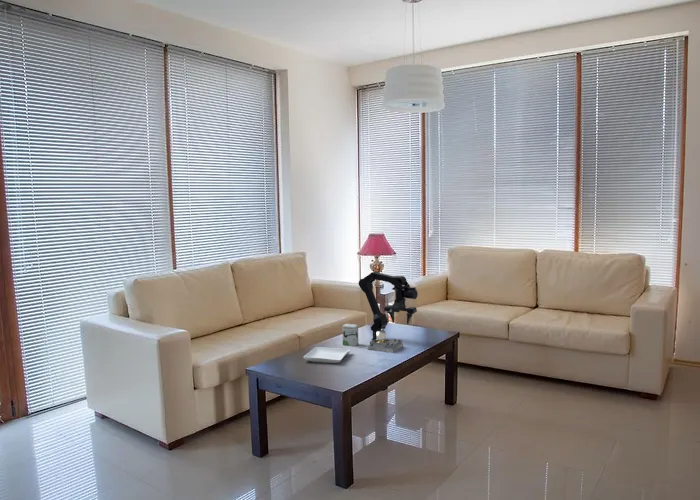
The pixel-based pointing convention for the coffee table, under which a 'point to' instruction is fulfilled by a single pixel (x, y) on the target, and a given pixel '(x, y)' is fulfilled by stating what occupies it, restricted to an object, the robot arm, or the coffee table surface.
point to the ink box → (350, 334)
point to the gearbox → (385, 345)
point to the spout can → (381, 336)
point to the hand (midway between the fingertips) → (400, 323)
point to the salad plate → (326, 354)
